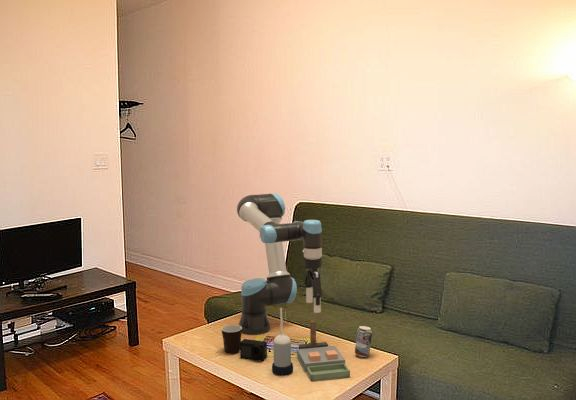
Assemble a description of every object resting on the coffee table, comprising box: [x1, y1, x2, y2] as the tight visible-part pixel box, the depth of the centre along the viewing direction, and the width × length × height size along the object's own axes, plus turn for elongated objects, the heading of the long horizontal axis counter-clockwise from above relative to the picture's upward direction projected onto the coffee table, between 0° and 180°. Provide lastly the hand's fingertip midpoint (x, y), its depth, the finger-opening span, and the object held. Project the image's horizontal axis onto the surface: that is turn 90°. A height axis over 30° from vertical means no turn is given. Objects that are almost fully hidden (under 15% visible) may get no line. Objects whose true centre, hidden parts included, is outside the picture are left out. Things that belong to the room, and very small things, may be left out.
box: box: [306, 362, 351, 382], centre depth 193 cm, size 7×15×2 cm, turn 101°
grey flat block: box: [296, 345, 346, 374], centre depth 204 cm, size 14×16×4 cm
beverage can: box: [354, 325, 373, 358], centre depth 210 cm, size 6×7×12 cm
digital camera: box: [239, 338, 268, 363], centre depth 209 cm, size 10×5×7 cm, turn 69°
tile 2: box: [325, 350, 338, 360], centre depth 201 cm, size 4×4×2 cm
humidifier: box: [271, 307, 294, 377], centre depth 196 cm, size 8×8×25 cm
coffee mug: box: [221, 324, 243, 355], centre depth 218 cm, size 12×9×10 cm
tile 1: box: [308, 352, 321, 361], centre depth 200 cm, size 4×4×2 cm
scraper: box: [298, 320, 329, 349], centre depth 215 cm, size 3×12×13 cm, turn 101°
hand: (313, 307), depth 213 cm, fingers open, 13 cm apart
